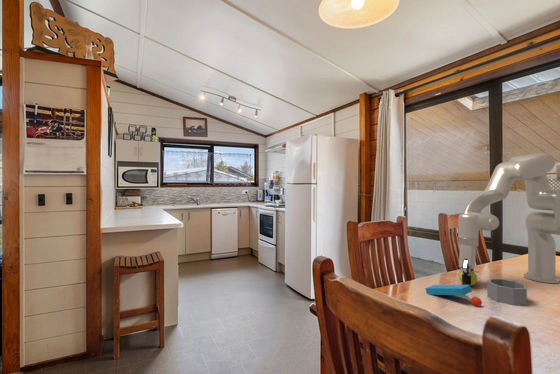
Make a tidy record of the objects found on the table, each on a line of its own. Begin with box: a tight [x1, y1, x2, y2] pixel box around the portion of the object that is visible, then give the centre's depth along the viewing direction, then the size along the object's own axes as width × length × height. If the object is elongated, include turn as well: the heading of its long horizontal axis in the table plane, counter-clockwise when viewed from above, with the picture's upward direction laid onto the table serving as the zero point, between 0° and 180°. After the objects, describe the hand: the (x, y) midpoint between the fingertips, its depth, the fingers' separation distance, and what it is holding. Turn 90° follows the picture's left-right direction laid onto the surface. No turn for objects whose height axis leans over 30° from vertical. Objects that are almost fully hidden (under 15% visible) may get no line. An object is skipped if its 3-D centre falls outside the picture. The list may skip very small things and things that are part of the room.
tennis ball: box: [458, 270, 478, 287], centre depth 126 cm, size 7×7×7 cm
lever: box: [424, 284, 483, 308], centre depth 111 cm, size 7×7×18 cm
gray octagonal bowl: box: [487, 278, 528, 306], centre depth 111 cm, size 12×12×6 cm
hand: (468, 281), depth 126 cm, fingers closed on tennis ball, 6 cm apart
